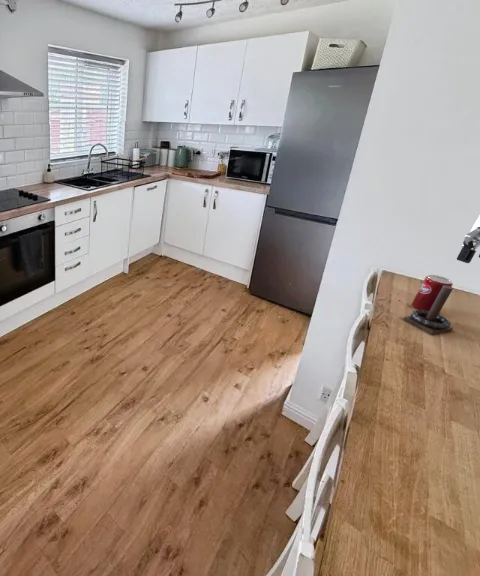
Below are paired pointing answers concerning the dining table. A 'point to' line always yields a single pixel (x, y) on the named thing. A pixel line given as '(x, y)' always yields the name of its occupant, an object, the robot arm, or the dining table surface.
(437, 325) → the ring
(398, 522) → the dining table surface
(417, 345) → the dining table surface
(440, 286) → the soda can
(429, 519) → the dining table surface
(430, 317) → the post
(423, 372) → the dining table surface
